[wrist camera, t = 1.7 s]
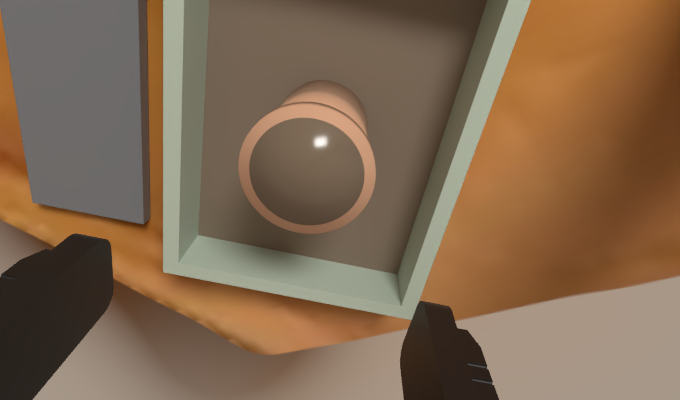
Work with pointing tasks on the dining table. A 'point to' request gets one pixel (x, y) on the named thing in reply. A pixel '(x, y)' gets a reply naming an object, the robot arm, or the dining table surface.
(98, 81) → the slate tile
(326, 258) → the pale green tray
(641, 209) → the dining table surface
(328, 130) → the clay pot
